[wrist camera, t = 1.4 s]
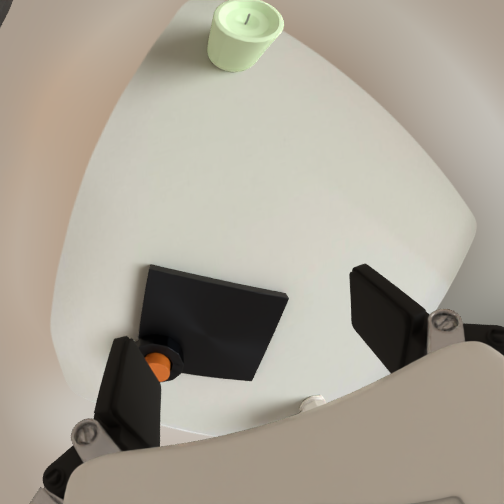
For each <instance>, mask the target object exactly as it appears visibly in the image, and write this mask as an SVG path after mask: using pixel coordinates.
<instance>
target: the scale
mask: <svg viewBox="0 0 504 504" xmlns="http://www.w3.org/2000/svg"><path fill="white" fill-rule="evenodd" d="M288 300H289V298H288V296H287V295H286V293H281V292H276V291H271V290H266V289H261V288H256V287H251V286H246V285H241V284H236V283H232V282H227V281H222V280H217V279H213V278H208V277H204V276H199V275H195V274H190V273H186V272H181V271H177V270H173V269H168V268H164V267H160V266H155V265H150V268H149V273H148V278H147V284H146V289H145V295H144V301H143V308H142V314H141V321H140V328H139V336H138V340H137V341H136V342H135V343H136V345H137V346H138V348H139V350H140V351H141V353H142V355H143V356H144V358H145V356H146V355H148V354H150V353H160V354H163V355H165V356H166V357H167V358H168V359H169V361H170V376H169V378H168V379H167V380H165V381H170V380H173V379H175V378H176V377H177V376H179V375H180V374H181V373H185V374H192V375H199V376H206V377H214V378H223V379H233V380H244V381H252V380H253V378H254V375H255V373H256V371H257V369H258V367H259V365H260V363H261V360H262V358H263V356H264V354H265V352H266V350H267V347H268V345H269V343H270V341H271V339H272V336H273V334H274V332H275V330H276V327H277V325H278V323H279V320H280V318H281V316H282V314H283V311H284V309H285V307H286V304H287V302H288ZM165 381H162V382H165Z"/></svg>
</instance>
